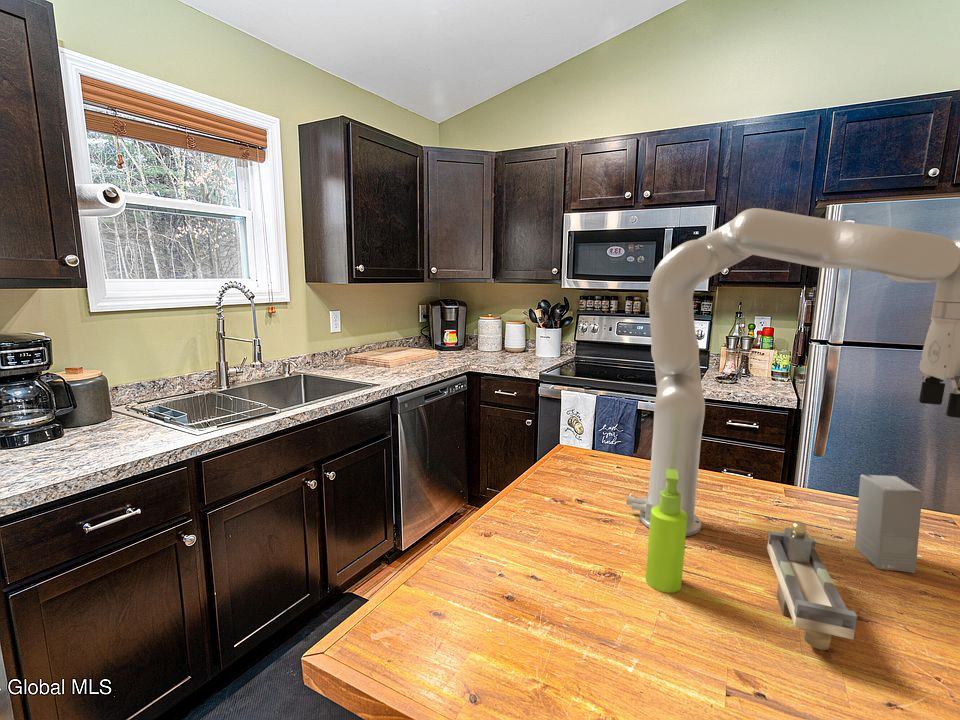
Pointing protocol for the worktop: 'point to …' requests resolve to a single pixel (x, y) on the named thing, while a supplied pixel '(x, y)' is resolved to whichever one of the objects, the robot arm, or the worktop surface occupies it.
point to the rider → (797, 543)
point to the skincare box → (888, 522)
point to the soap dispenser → (667, 539)
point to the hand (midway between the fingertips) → (943, 410)
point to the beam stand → (810, 596)
